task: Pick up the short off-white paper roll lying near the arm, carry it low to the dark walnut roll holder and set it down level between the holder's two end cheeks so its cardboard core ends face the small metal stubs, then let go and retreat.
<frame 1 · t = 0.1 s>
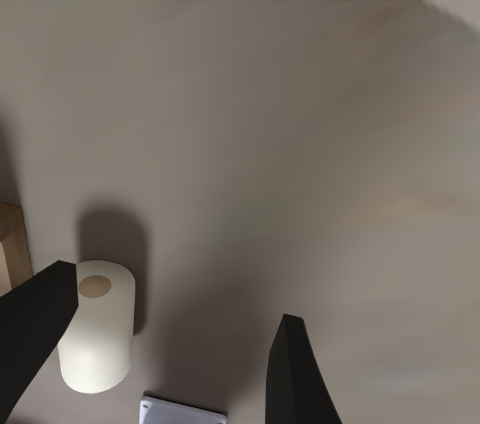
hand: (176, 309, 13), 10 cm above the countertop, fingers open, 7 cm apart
roll: (96, 327, 26), point 2 cm above the countertop
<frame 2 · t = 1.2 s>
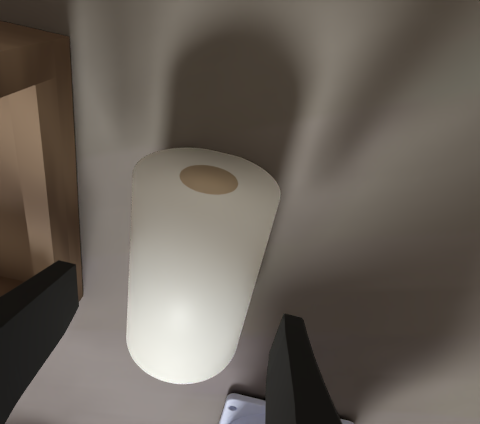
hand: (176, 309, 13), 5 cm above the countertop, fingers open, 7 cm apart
roll: (194, 266, 15), point 2 cm above the countertop
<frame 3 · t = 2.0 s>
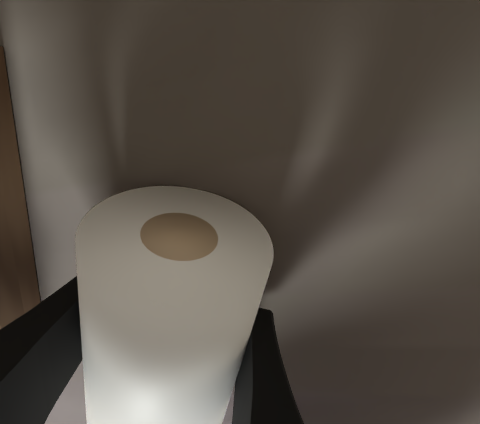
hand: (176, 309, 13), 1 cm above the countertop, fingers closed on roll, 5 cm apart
roll: (167, 334, 12), point 2 cm above the countertop, touching gripper
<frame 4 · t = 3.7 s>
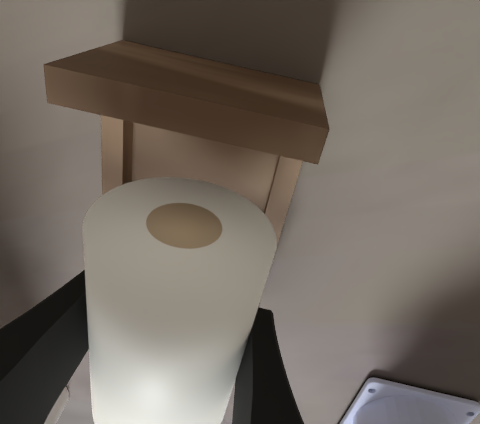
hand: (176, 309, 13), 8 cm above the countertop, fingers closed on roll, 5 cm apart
cylindrical container: (31, 383, 33), on the countertop
roll: (171, 323, 12), point 9 cm above the countertop, touching gripper
holder: (201, 188, 20), on the countertop
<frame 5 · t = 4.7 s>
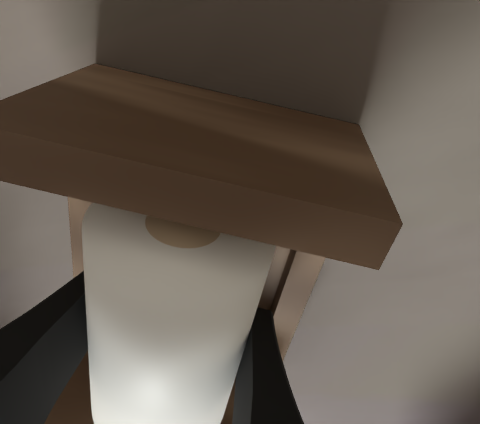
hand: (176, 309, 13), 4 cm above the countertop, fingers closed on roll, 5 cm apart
roll: (170, 323, 12), point 4 cm above the countertop, touching gripper
holder: (200, 245, 16), on the countertop
when the fingers open (3 cm above the countertop, at t = 5.3 s): roll stays where it is, resting on holder.
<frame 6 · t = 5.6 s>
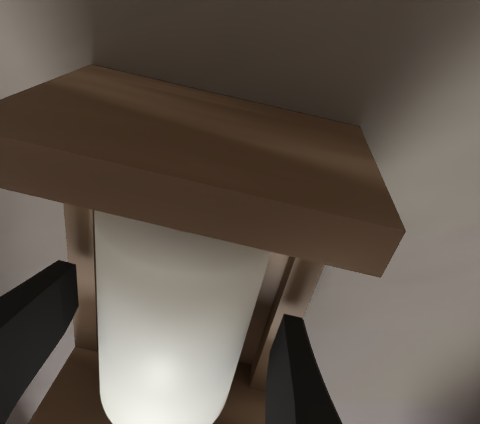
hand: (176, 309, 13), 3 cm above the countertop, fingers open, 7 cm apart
roll: (176, 308, 12), point 3 cm above the countertop, touching holder
holder: (199, 248, 16), on the countertop
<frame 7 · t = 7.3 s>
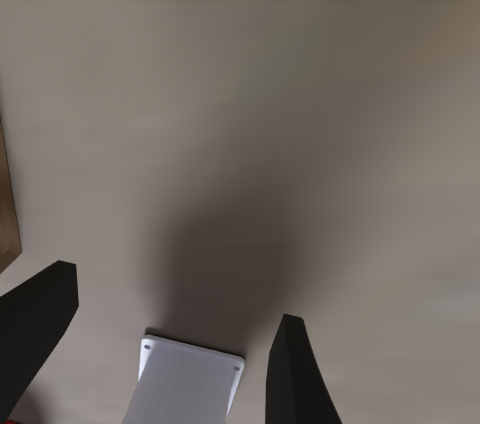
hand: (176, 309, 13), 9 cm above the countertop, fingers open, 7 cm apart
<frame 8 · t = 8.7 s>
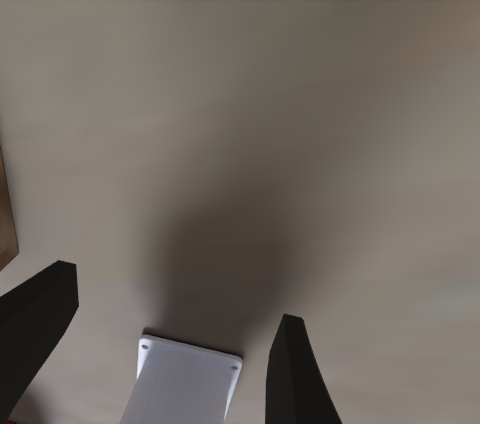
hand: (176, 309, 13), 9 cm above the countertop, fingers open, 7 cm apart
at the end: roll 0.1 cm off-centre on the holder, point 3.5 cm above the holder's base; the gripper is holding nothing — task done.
